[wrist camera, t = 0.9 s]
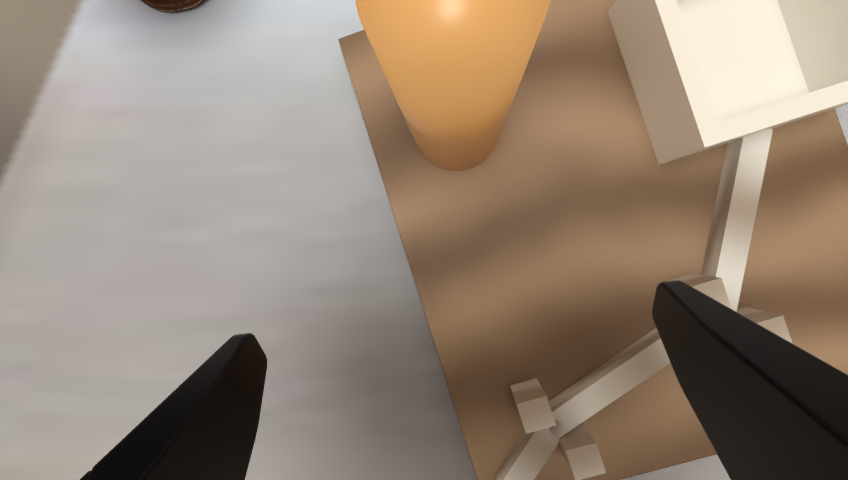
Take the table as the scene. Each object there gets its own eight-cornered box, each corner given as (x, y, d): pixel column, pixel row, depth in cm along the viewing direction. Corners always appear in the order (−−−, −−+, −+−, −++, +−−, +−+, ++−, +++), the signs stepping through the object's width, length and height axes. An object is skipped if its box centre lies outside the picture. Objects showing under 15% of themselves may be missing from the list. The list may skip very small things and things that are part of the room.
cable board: (912, 389, 21) (1001, 418, 18) (487, 502, 23) (492, 549, 19) (743, -98, 22) (797, -163, 18) (343, 47, 24) (323, 14, 20)
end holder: (825, 111, 21) (912, 80, 17) (658, 165, 21) (704, 147, 17) (770, -45, 21) (844, -113, 17) (607, 12, 21) (641, -40, 17)
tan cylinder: (511, 154, 22) (580, 40, 9) (428, 182, 22) (388, 108, 10) (484, 72, 22) (517, -149, 10) (402, 100, 22) (329, -75, 10)
